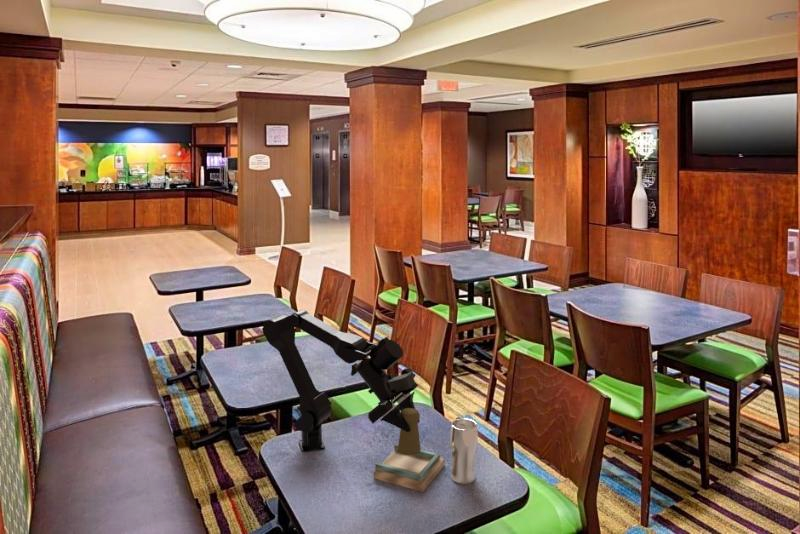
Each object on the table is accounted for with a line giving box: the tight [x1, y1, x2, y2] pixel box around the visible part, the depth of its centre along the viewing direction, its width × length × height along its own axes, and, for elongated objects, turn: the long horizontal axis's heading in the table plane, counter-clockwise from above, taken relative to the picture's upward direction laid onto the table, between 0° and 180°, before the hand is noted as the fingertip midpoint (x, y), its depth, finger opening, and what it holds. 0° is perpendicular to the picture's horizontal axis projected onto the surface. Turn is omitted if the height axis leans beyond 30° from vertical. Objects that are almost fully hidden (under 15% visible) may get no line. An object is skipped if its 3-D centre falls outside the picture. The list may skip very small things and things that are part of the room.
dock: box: [373, 443, 445, 493], centre depth 156 cm, size 14×14×4 cm
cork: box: [397, 408, 422, 455], centre depth 154 cm, size 6×6×11 cm
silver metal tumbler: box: [449, 417, 479, 485], centre depth 152 cm, size 7×7×15 cm
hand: (414, 426), depth 153 cm, fingers closed on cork, 5 cm apart
